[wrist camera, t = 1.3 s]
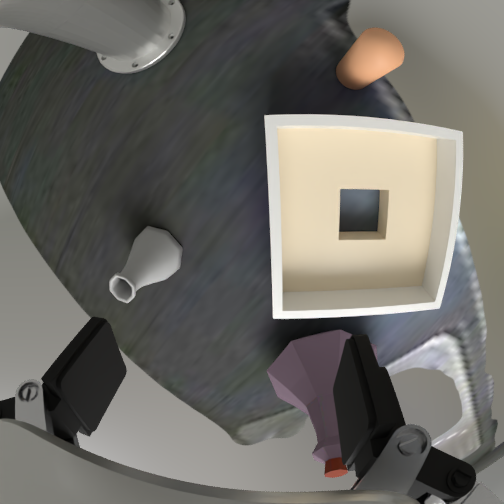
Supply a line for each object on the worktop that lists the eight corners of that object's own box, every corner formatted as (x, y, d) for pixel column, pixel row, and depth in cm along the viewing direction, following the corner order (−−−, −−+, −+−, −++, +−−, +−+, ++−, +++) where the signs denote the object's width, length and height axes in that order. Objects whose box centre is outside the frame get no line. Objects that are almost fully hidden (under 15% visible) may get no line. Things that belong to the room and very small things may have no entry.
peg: (334, 57, 24) (356, 24, 15) (367, 60, 24) (400, 32, 14) (337, 88, 26) (362, 65, 16) (370, 91, 25) (407, 72, 16)
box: (267, 122, 28) (264, 115, 21) (430, 131, 26) (462, 131, 19) (274, 286, 35) (273, 318, 29) (417, 281, 33) (439, 308, 27)
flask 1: (145, 215, 33) (102, 242, 24) (192, 245, 34) (163, 282, 25) (127, 258, 36) (88, 293, 27) (170, 286, 37) (140, 329, 28)
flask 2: (262, 384, 42) (250, 492, 24) (275, 304, 36) (267, 438, 18) (355, 389, 42) (374, 488, 23) (388, 313, 35) (441, 426, 17)
